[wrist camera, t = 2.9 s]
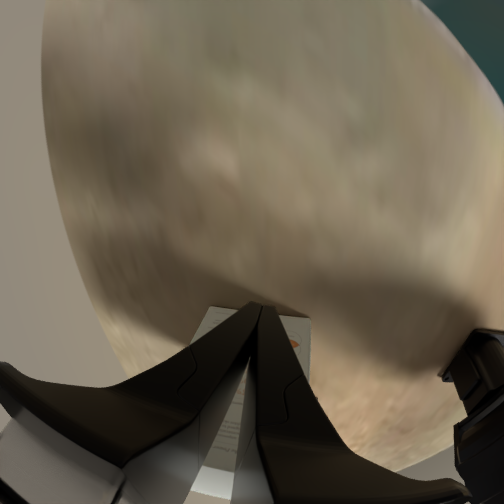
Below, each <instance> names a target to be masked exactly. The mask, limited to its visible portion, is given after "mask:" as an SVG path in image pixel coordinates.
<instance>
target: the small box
mask: <svg viewBox="0 0 504 504" xmlns="http://www.w3.org/2000/svg"><path fill="white" fill-rule="evenodd" d="M236 311H238V310H234V309H227V308H220V307H214V306H210V307H209V309H208V311H207V313H206V315H205V316H204V318H203V320H202V322H201V324H200V326H199V328H198V329H197V331H196V333H195V335H194V337H193V339H192V340H191V342H190V344H192V343H193V342H195V341H196V340H197V339H199V338H200V337H202V336H203V335H204V334H206V333H207V332H209V331H210V330H212V329H213V328H214V327H216V326H217V325H219V324H220V323H221V322H223V321H224V320H225V319H227V318H228V317H230V316H231V315H232V314H234V313H235V312H236ZM279 317H280V319H281V321H282V323H283V326H284V328H285V330H286V333H287V335H288V337H289V339H290V342H291V344H292V346H293V349H294V351H295V353H296V355H297V358H298V360H299V362H300V364H301V367H302V369H303V371H304V375H305V376H306V378H307V380H308V383H309V381H310V357H311V320H310V318H301V317H291V316H283V315H279ZM190 344H189V345H190ZM188 347H189V346H188ZM249 359H250V358H249ZM248 363H249V362H248ZM247 368H248V365H247ZM247 368H246V370H245V373H244V375H243V377H242V380H241V382H240V384H239V387H238V389H237V391H236V393H235V396H234V398H233V400H232V402H231V405H230V407H229V409H228V411H227V413H226V416H225V418H224V420H223V422H222V424H221V427H220V429H219V431H218V433H217V435H216V437H215V440H214V442H213V444H212V446H211V448H210V450H209V452H208V454H207V456H206V458H205V461H204V463H203V465H202V467H201V469H200V471H199V473H198V475H197V477H196V479H195V481H194V483H193V485H192V487H191V489H190V490H191V491H195V492H199V493H203V494H207V495H211V496H216V497H220V498H225V499H230V500H231V494H232V487H233V479H234V472H235V464H236V456H237V448H238V440H239V432H240V424H241V416H242V408H243V400H244V392H245V384H246V375H247Z"/></svg>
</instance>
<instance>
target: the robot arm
mask: <svg viewBox="0 0 504 504" xmlns="http://www.w3.org/2000/svg"><path fill="white" fill-rule="evenodd" d="M249 358H250V359H249ZM248 362H249V363H248ZM247 365H248V368H247ZM246 368H247V375H246V384H245V392H244V400H243V408H242V416H241V424H240V432H239V440H238V448H237V456H236V464H235V472H234V479H233V487H232V494H231V502H230V504H465V503H466V502H468V501H469V502H470V503H471V504H504V333H500V332H493V331H485V330H478V329H476V330H474V331H472V333H471V334H470V336H469V337H468V339H467V341H466V342H465V344H464V345H463V347H462V348H461V350H460V351H459V353H458V354H457V356H456V357H455V359H454V360H453V362H452V363H451V364H450V366H449V367H448V369H447V370H446V371H445V373H444V374H443V375H442V377H441V378H442V381H443V382H454V385H455V387H456V390H457V393H458V395H459V398H460V400H462V401H463V404H464V407H465V410H466V413H467V416H468V417H466V418H465V419H464V420H462V421H461V422H458V423H457V424H455V425H454V426H453V427H454V452H455V453H454V454H455V467H456V470H457V471H458V473H459V475H460V476H461V478H462V479H463V480H464V482H465V486H464V485H463V484H461V483H459V482H457V481H455V480H453V479H451V478H443V479H437V480H431V481H421V480H415V479H410V478H407V477H405V476H402V475H400V474H397V473H395V472H393V471H390V470H388V469H386V468H384V467H382V466H379V465H377V464H375V463H373V462H371V461H369V460H367V459H365V458H363V457H361V456H359V455H357V454H355V453H354V452H353V451H351V450H350V449H349V448H348V447H347V445H346V444H345V443H344V442H343V440H342V439H341V437H340V436H339V434H338V433H337V431H336V429H335V428H334V426H333V425H332V423H331V422H330V420H329V418H328V417H327V415H326V414H325V412H324V411H323V409H322V407H321V405H320V404H319V402H318V400H317V399H316V397H315V395H314V393H313V391H312V389H311V387H310V385H309V383H308V380H307V378H306V376H305V375H304V371H303V369H302V367H301V364H300V362H299V360H298V358H297V355H296V353H295V351H294V349H293V346H292V344H291V342H290V339H289V337H288V335H287V333H286V330H285V328H284V326H283V323H282V321H281V319H280V317H279V314H278V312H277V310H276V308H275V307H274V306H269V305H263V306H262V304H261V303H256V302H252V301H251V302H249V303H247V304H246V305H245V306H243V307H242V308H241V309H239V310H238V311H236V312H235V313H234V314H232V315H231V316H230V317H228V318H227V319H225V320H224V321H223V322H221V323H220V324H219V325H217V326H216V327H214V328H213V329H212V330H210V331H209V332H207V333H206V334H204V335H203V336H202V337H200V338H199V339H197V340H196V341H195V342H193V343H192V344H190V345H189V347H186V348H184V349H183V350H181V351H180V352H178V353H177V354H175V355H174V356H172V357H171V358H169V359H167V360H166V361H164V362H162V363H160V364H158V365H156V366H154V367H152V368H150V369H148V370H146V371H144V372H142V373H140V374H138V375H136V376H134V377H132V378H130V379H128V380H126V381H124V382H121V383H119V384H116V385H113V386H110V387H104V388H94V387H84V386H75V385H66V384H59V383H51V382H45V381H40V380H36V379H33V378H30V377H28V376H26V375H24V374H22V373H21V372H19V371H18V370H17V369H16V368H14V367H13V366H12V365H10V364H9V363H6V362H0V403H1V404H2V406H3V407H4V409H5V410H6V411H7V412H8V414H9V415H10V416H11V417H12V419H11V420H10V421H9V422H8V424H7V425H6V426H5V427H4V429H3V430H2V431H1V433H0V504H183V503H184V501H185V499H186V497H187V495H188V493H189V491H190V489H191V487H192V485H193V483H194V481H195V479H196V477H197V475H198V473H199V471H200V469H201V467H202V465H203V463H204V461H205V458H206V456H207V454H208V452H209V450H210V448H211V446H212V444H213V442H214V440H215V437H216V435H217V433H218V431H219V429H220V427H221V424H222V422H223V420H224V418H225V416H226V413H227V411H228V409H229V407H230V405H231V402H232V400H233V398H234V396H235V393H236V391H237V389H238V387H239V384H240V382H241V380H242V377H243V375H244V373H245V370H246Z"/></svg>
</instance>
